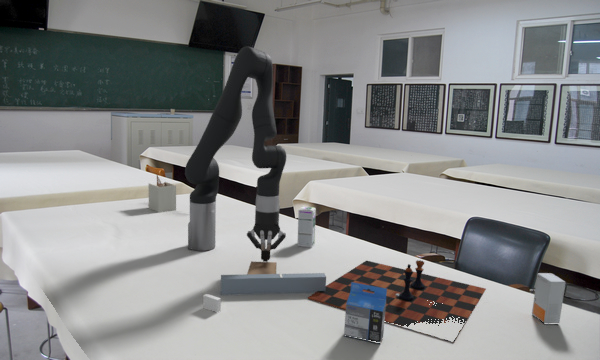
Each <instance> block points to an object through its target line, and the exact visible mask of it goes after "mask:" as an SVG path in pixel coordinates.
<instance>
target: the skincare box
mask: <svg viewBox="0 0 600 360" xmlns="http://www.w3.org/2000/svg"><path fill="white" fill-rule="evenodd" d="M565 288H566V281H565V280H563V279H562V278H560V277H559V276H557V275H555V274H554V273H551V272H549V273H548V272H539V273H537V275H536V281H535V289H534V297H533V302H532V303H533V304H532V311H531V315H532V314H533V315H532V316H534V317H535V318H536V317H537V318H538V319H537V318H536V319H537V320H539V319H540V320H541V321H542V322H544V323H559V324H560V323H561V315H562V308H563V301H564V293H565ZM540 320H539V321H540ZM541 321H540V322H541ZM542 322H541V323H542Z"/></svg>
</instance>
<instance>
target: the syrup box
mask: <svg viewBox="0 0 600 360" xmlns="http://www.w3.org/2000/svg"><path fill="white" fill-rule="evenodd" d="M316 210H317V209H316V207H314V206H301V207H300V208H299V209H298V211H297V212H298V213H297V214H298V217H297V220H298V221H297V246H298V247H303V248H311V249H312V247H314V245H315V242H316V241H315V240H316V238H315V237H316V212H317V211H316Z"/></svg>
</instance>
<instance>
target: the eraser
mask: <svg viewBox="0 0 600 360" xmlns="http://www.w3.org/2000/svg"><path fill="white" fill-rule="evenodd" d="M202 299H203V300H202V302H203V303H202V304H203V307H202V308H203V309H204V308H206V309H205V310H207V309H209V310H208V311H210V310H212V311H211V312H213V311H215V312H214V313H216V312H218V313H220V312H221V306H222V298H221V297H219V296H215V295H212V294H209V293H205V294H203V298H202ZM219 311H220V312H219Z"/></svg>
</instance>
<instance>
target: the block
mask: <svg viewBox="0 0 600 360" xmlns="http://www.w3.org/2000/svg"><path fill="white" fill-rule="evenodd" d="M277 264H278V263H277V262H273V261H268V262H263V261H253V260H251V261H250V264H249V267H248V270H247V274H277Z"/></svg>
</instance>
